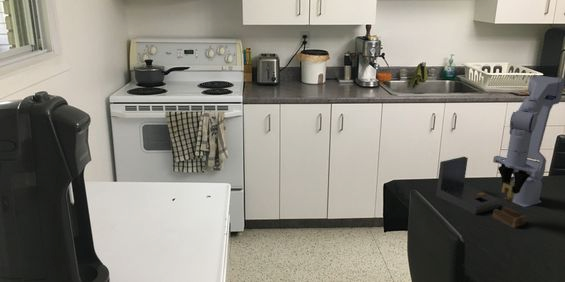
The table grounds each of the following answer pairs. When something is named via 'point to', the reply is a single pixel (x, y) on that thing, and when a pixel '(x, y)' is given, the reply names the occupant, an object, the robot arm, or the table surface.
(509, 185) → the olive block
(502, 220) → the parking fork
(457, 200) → the dark grey l-shaped block
